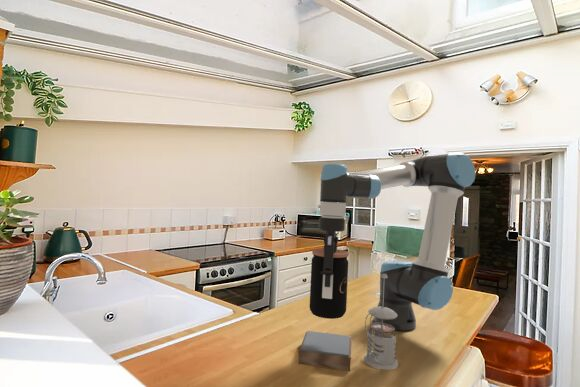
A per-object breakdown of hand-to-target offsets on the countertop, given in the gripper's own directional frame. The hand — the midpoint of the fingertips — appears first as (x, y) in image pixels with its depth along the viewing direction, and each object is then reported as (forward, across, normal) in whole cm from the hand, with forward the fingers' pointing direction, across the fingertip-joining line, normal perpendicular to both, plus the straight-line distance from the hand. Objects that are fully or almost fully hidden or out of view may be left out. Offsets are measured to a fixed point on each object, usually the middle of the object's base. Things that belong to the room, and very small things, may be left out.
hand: (328, 292), depth 99 cm
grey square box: (+18, 0, 0) cm, 18 cm away
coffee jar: (+6, 0, 0) cm, 6 cm away
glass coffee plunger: (+19, -2, +15) cm, 24 cm away
